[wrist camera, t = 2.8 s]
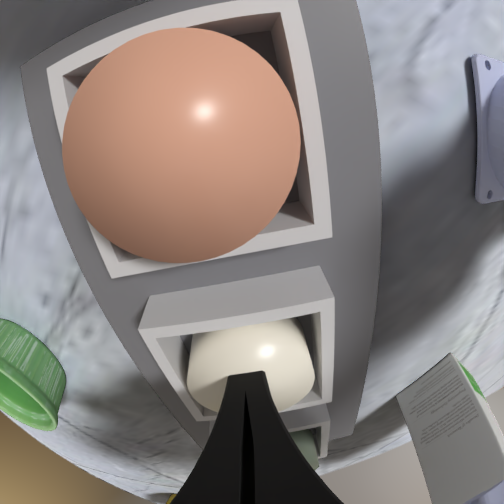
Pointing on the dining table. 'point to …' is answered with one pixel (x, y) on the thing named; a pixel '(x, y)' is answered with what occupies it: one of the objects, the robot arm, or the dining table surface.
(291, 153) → the terracotta button
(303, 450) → the sage button
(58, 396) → the ramekin
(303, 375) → the cream button
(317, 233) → the button panel
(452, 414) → the skincare box
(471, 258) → the dining table surface
